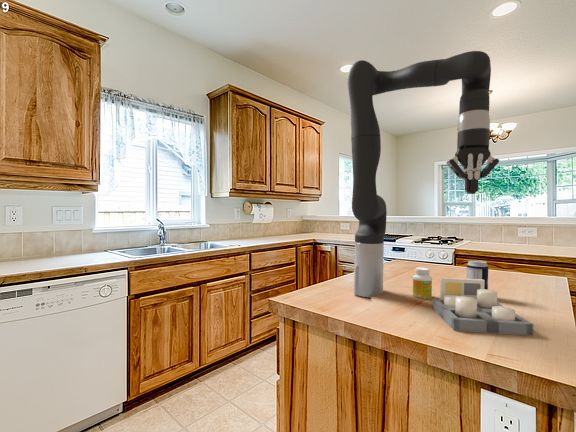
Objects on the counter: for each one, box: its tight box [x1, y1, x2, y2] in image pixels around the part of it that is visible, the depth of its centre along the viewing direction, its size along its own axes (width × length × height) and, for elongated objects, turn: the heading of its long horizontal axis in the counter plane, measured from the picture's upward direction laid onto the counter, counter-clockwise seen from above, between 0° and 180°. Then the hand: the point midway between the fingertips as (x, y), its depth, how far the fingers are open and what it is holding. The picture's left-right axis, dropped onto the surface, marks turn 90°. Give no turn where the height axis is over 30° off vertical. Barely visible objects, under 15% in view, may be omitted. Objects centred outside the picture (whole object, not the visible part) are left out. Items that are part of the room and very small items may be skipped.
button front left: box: [455, 296, 477, 319], centre depth 72 cm, size 4×4×4 cm
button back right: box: [477, 289, 498, 309], centre depth 79 cm, size 4×4×4 cm
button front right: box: [492, 305, 516, 321], centre depth 71 cm, size 4×4×4 cm
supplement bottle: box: [412, 267, 433, 300], centre depth 96 cm, size 5×5×10 cm
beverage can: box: [466, 259, 489, 290], centre depth 96 cm, size 6×6×12 cm
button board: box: [432, 277, 534, 336], centre depth 76 cm, size 16×18×9 cm
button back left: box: [444, 295, 457, 307], centre depth 80 cm, size 4×4×4 cm
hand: (471, 193), depth 84 cm, fingers closed
